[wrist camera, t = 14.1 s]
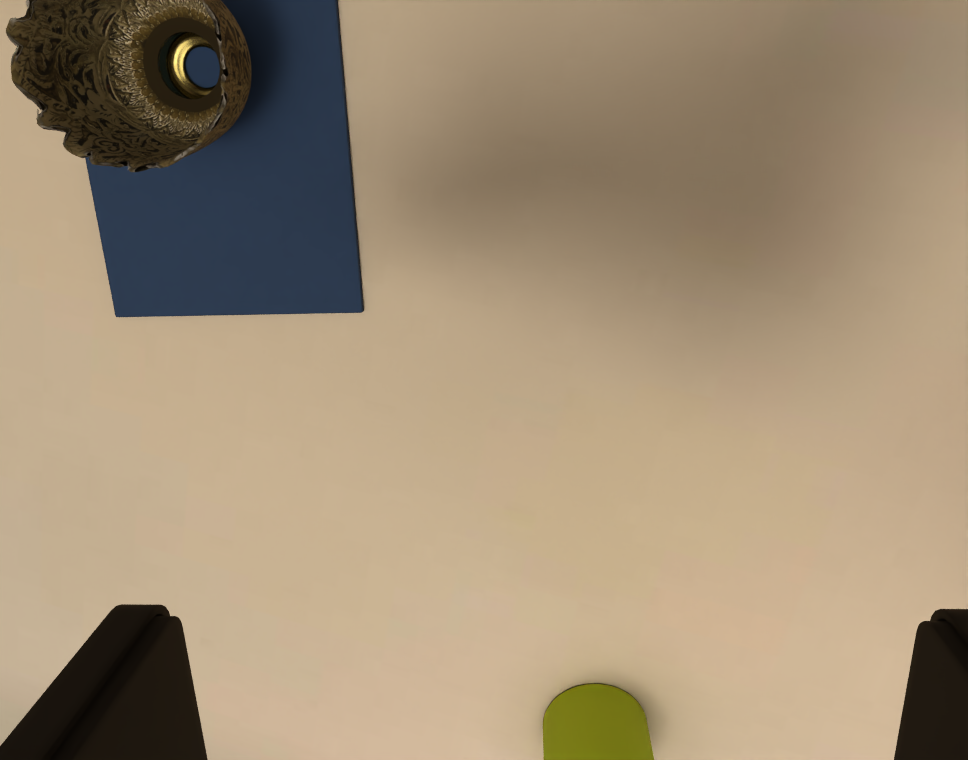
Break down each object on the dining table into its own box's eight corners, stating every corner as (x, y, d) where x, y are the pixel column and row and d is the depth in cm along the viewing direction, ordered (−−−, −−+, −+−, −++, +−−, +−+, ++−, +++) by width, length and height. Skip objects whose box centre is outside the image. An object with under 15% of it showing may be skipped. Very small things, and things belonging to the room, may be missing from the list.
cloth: (316, -246, 31) (314, -250, 30) (364, 310, 38) (362, 312, 38) (16, -227, 31) (10, -231, 31) (119, 315, 39) (115, 317, 38)
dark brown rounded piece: (243, 189, 36) (167, 213, 28) (93, 97, 35) (-26, 97, 27) (320, 36, 34) (259, 18, 26) (162, -67, 33) (52, -116, 25)
